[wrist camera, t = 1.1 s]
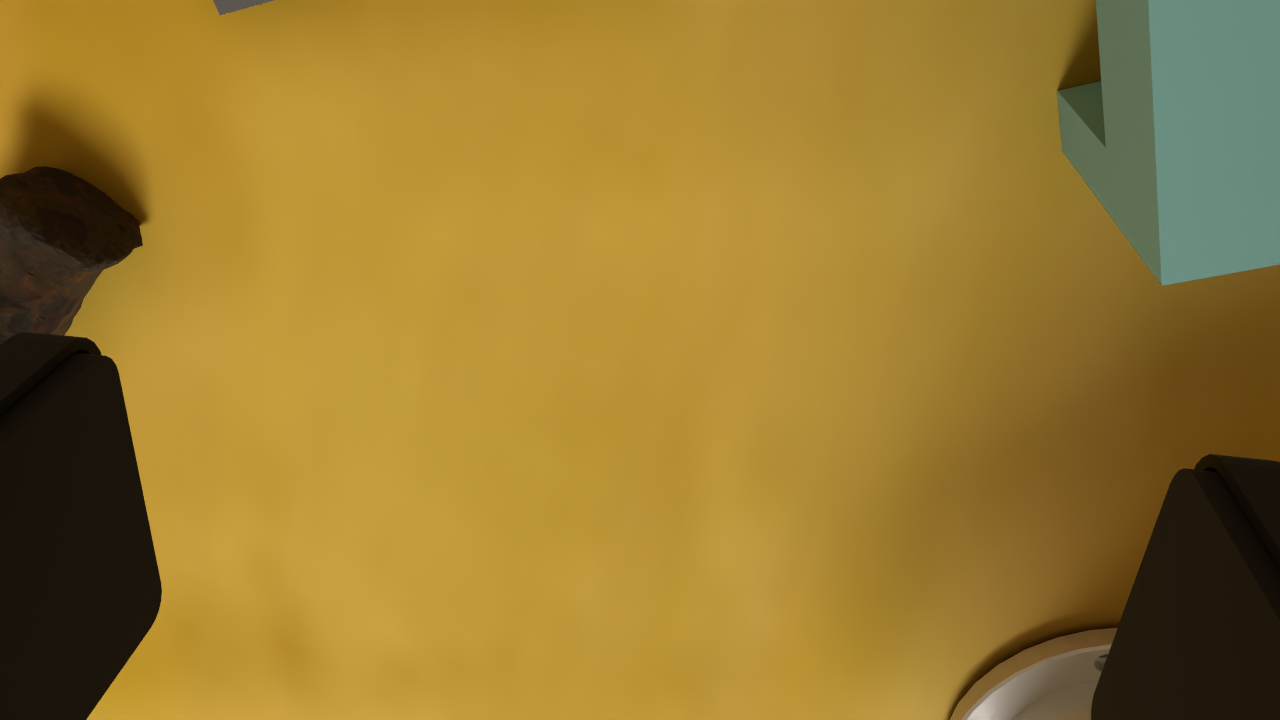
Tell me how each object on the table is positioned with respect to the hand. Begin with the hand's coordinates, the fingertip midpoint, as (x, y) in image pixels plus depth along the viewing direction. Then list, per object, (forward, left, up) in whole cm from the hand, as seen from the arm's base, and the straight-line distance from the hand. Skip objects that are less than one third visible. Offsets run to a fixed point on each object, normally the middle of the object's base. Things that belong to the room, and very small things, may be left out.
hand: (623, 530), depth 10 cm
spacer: (-2, -10, -24) cm, 26 cm away
